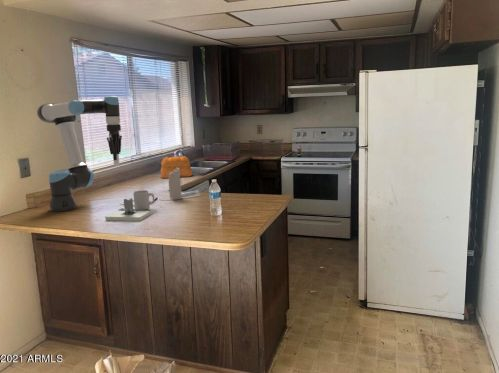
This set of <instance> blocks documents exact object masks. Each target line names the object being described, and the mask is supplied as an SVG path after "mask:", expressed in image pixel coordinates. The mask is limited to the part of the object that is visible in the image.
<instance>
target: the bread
mask: <svg viewBox="0 0 499 373" xmlns="http://www.w3.org/2000/svg"><path fill="white" fill-rule="evenodd" d="M190 163H191V162H190V159H189V158H188V157H187V156H185V155H182V156H176V155H175V156H170V157H168V156H165V157H164V158H162V160H161V168H160V177H161V178H162V179H169V174H170V173H171V172H173V170H176V168H179V169H180V178H188V177H189V178H190V177H192V176H193V171H192V168H191V167H192V166H191V164H190Z"/></svg>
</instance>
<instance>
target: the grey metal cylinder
mask: <svg viewBox="0 0 499 373" xmlns="http://www.w3.org/2000/svg"><path fill="white" fill-rule="evenodd" d="M123 205H124V209H125V215H133V214H134V212H133V209H134V200H133V198H132V197H126V198H123Z"/></svg>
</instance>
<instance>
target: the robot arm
mask: <svg viewBox="0 0 499 373" xmlns="http://www.w3.org/2000/svg"><path fill="white" fill-rule="evenodd" d="M36 113H37V114H36V115H37V117H38V118H39V120H40V121H41V122H44V123H47V124H49V123H50V124H55V127H56V128H57V129H59V133H60V137H61V140H62V145H63V148H64V151H65V155H66V158H67V162H68V165H69V166H68V167H67V168H64V169H57V170H55V171H51V172H50V174H48V182H49V190H50V195H51V198H50V203H49V211H50V212H57V213H58V212H66V211H67V212H68V211H72V210H75V209H77V208H78V207H77V202H76V201H75V198H74V196H73V190H77V189H82V188H83V189H84V188H87V187H90V186H91V185H93V182H94V179H95V173H94V172H93V170H92V169H91V168H89V167H88V164H86V163H85V162H84V159H83V156H82V152H81V148H80V144H79V142H78V141H79V140H78V137H77V133H76V130H75V124H76V121H77V119H78V116H79V115H89V114H94V115H95V114H105V122H106V132H108V137H107V136H106V140H107V144H108V148H109V153H110V155H112V158H113V167H116V166H117V167H118V166H120V156H119V155H120V154H121V152H122V150H121V149H122V139H123V136H122V135H120V132H121V131H122V126H121V124H120V123H121V118H120V117H121V115H120V102H119V97H118V96H116V95H111V96H110V95H105V96H104V99H75V100H73V99H72V100H71V101H68V102H67V101H66V102H61V103H58V102H56V103H54V102H53V103H44V104H41V105H40V106H39V107H38V108H37V111H36Z"/></svg>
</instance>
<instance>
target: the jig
mask: <svg viewBox="0 0 499 373" xmlns="http://www.w3.org/2000/svg"><path fill="white" fill-rule="evenodd" d="M133 212H134V214H133V215H125V208H123V207H122V208H119V209H117V210H116V211H114V212H112V213H110V214H108V215H106V216H105V218H104V219H105V221H114V222H115V221H123V222H125V221H127V222H141V221H143V220H144V219H146V218H148V217H149V216H151V215H153V209H152V208H150V209H135V208H133Z"/></svg>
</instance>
